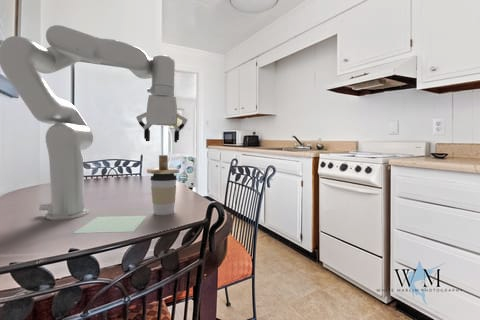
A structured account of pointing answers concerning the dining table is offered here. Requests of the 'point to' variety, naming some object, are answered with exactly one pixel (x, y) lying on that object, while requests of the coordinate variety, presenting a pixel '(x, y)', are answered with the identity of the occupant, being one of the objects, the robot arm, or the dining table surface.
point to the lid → (163, 167)
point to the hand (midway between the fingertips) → (161, 141)
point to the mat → (112, 224)
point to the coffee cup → (163, 193)
